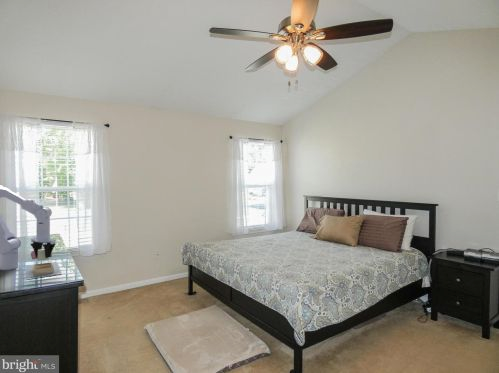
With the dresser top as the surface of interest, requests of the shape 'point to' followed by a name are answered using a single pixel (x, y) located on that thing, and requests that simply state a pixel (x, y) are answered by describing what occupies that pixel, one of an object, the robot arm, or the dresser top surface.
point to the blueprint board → (30, 274)
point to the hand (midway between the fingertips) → (43, 256)
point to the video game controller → (35, 255)
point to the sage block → (41, 255)
